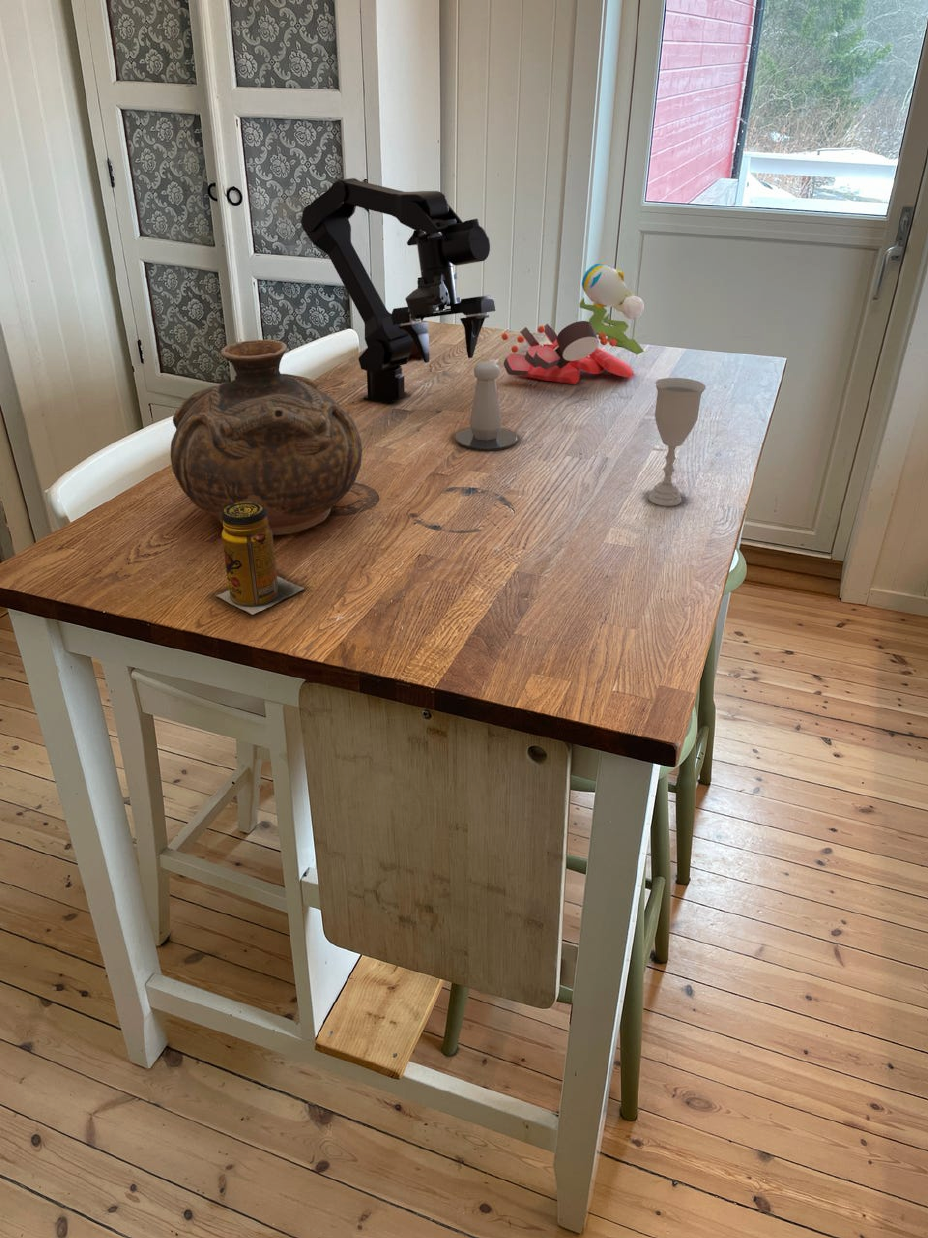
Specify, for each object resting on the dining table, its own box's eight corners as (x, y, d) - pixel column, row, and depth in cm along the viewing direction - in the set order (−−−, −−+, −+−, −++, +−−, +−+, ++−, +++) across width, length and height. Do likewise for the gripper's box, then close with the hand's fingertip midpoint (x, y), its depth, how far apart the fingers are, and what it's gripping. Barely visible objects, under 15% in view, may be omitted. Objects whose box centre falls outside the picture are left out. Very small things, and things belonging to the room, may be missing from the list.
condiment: (215, 596, 118) (203, 509, 112) (268, 572, 124) (258, 488, 118) (252, 616, 114) (241, 527, 108) (305, 590, 120) (297, 504, 114)
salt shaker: (502, 431, 169) (505, 359, 162) (500, 442, 164) (503, 369, 157) (470, 430, 169) (471, 358, 163) (467, 441, 165) (468, 367, 158)
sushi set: (546, 412, 183) (465, 341, 192) (605, 433, 208) (531, 370, 217) (639, 284, 172) (549, 216, 181) (689, 323, 198) (608, 262, 207)
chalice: (691, 493, 147) (708, 381, 138) (685, 511, 142) (703, 394, 133) (645, 487, 149) (658, 375, 140) (637, 503, 144) (651, 388, 135)
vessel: (287, 573, 123) (257, 384, 111) (142, 533, 136) (101, 361, 124) (406, 500, 143) (392, 333, 130) (269, 471, 156) (244, 317, 143)
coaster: (445, 444, 164) (445, 442, 164) (469, 425, 173) (469, 422, 173) (503, 454, 161) (503, 452, 160) (525, 434, 169) (525, 431, 169)
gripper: (367, 278, 164) (381, 369, 168) (460, 262, 154) (472, 360, 159) (401, 275, 173) (414, 362, 178) (491, 261, 163) (501, 353, 168)
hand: (448, 360), depth 170 cm, fingers open, 9 cm apart
